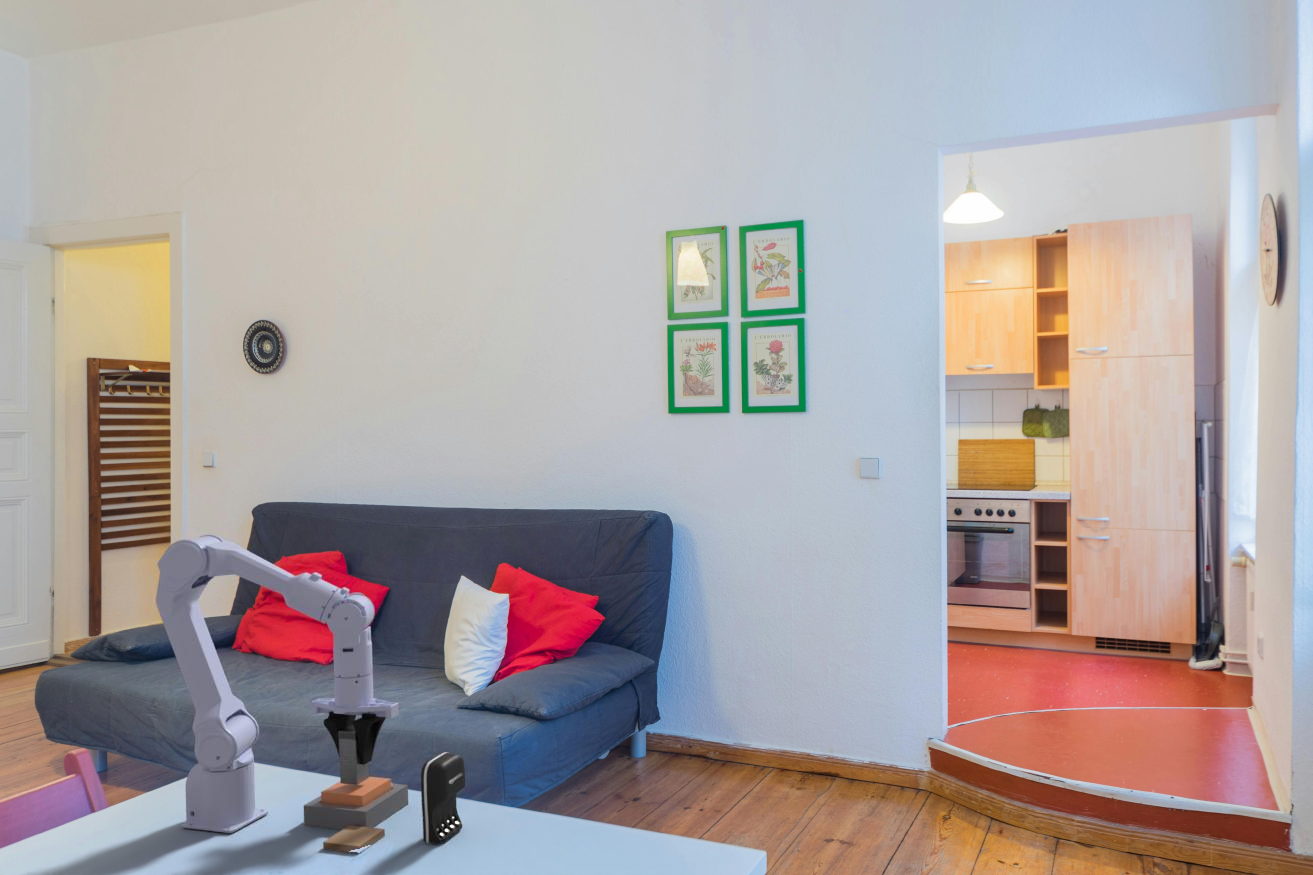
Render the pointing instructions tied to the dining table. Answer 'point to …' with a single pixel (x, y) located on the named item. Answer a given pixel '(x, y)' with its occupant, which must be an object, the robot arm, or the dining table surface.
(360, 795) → the button
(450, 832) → the battery charger
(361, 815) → the tray
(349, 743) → the grey rectangular block
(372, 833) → the walnut pad
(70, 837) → the dining table surface
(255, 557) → the robot arm
